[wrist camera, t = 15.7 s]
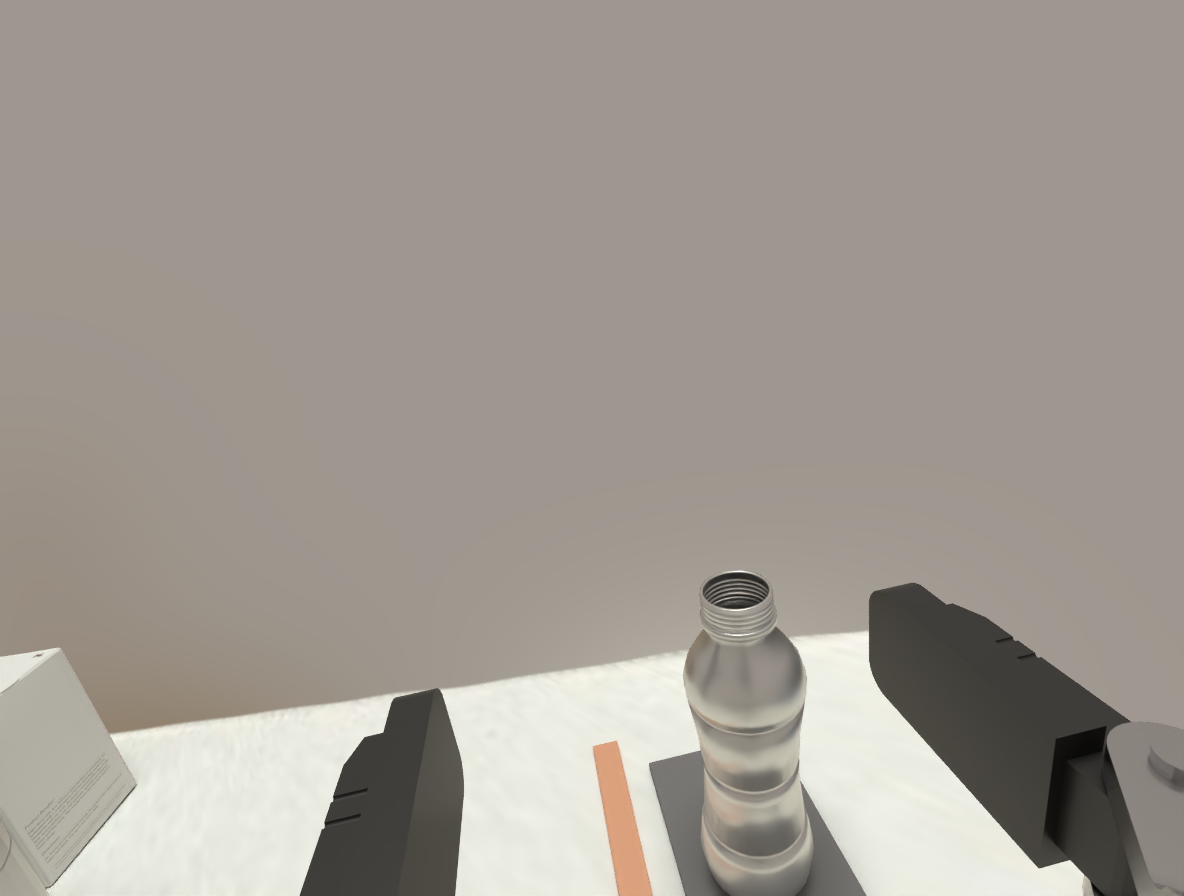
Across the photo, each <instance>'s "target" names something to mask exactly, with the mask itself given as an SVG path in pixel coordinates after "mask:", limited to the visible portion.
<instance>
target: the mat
mask: <svg viewBox="0 0 1184 896" xmlns="http://www.w3.org/2000/svg"><path fill="white" fill-rule="evenodd" d="M649 766H650V771H651V774H652V778H653V781H654V785H655V788H656V792H657V795H658V799H659V802H660V806H661V809H662V813H663V817H664V820H665V824H666V827H667V831H668V834H669V838H670V841H671V845H672V848H673V852H674V855H675V859H676V862H677V866H678V870H679V873H680V877H681V880H682V884H683V887H684V891H685V894H686V896H730V895H729V894H728V893H727V892H726V891H724V890H723V889H722V888H721V886H720V885H719V884H718V883H717V882H716V880H715V878H714V877H713V875H712V873H711V871H710V869H709V866H708V863H707V860H706V857H705V854H704V851H703V848H702V843H701V820H702V809H703V804H704V766H703V759H702V754H701V751H697V752H693V753H689V754H685V755H681V756H677V757H672V758H668V759H664V760H660V761H656V762H652V763H649ZM800 783H801V781H800ZM801 789H802V796H803V803H804V806H805V809H806V812H807V815H808V818H809V822H810V827H811V831H812V836H813V846H814V849H813V858H812V862H811V867H810V871H809V875H808V877H807V880H806V883H805V884H804V886H803V887H802V889H801V891H800V892H798V893H797V894H796V895H795V896H866V894H865V892H864V891H863V889H862V887H861V885H860V884H859V882H858V880H857V878H856V877H855V875H854V873H853V871H852V870H851V868H850V866H849V864H848V863H847V861H846V859H845V858H844V856H843V854H842V852H841V851H840V849H839V847H838V845H837V844H836V842H835V840H834V838H833V837H832V835H831V833H830V831H829V830H828V828H827V826H826V824H825V823H824V821H823V819H822V817H821V816H820V814H819V812H818V810H817V809H816V807H815V805H814V803H813V802H812V800H811V798H810V797H809V795H808V793H807V791H806V790H805V788H804V786H803V784H802V783H801Z"/></svg>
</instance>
